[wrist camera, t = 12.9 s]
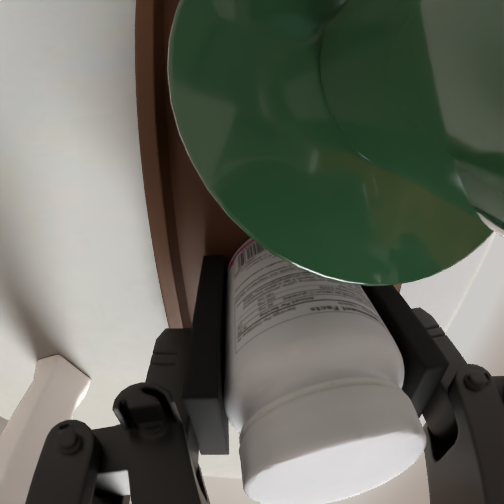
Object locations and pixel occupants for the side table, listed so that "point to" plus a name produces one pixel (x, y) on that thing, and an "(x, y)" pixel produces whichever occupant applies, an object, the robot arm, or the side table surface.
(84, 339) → the side table surface
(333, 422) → the pill bottle
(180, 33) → the green bottle
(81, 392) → the white faceted vase
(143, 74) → the tray
